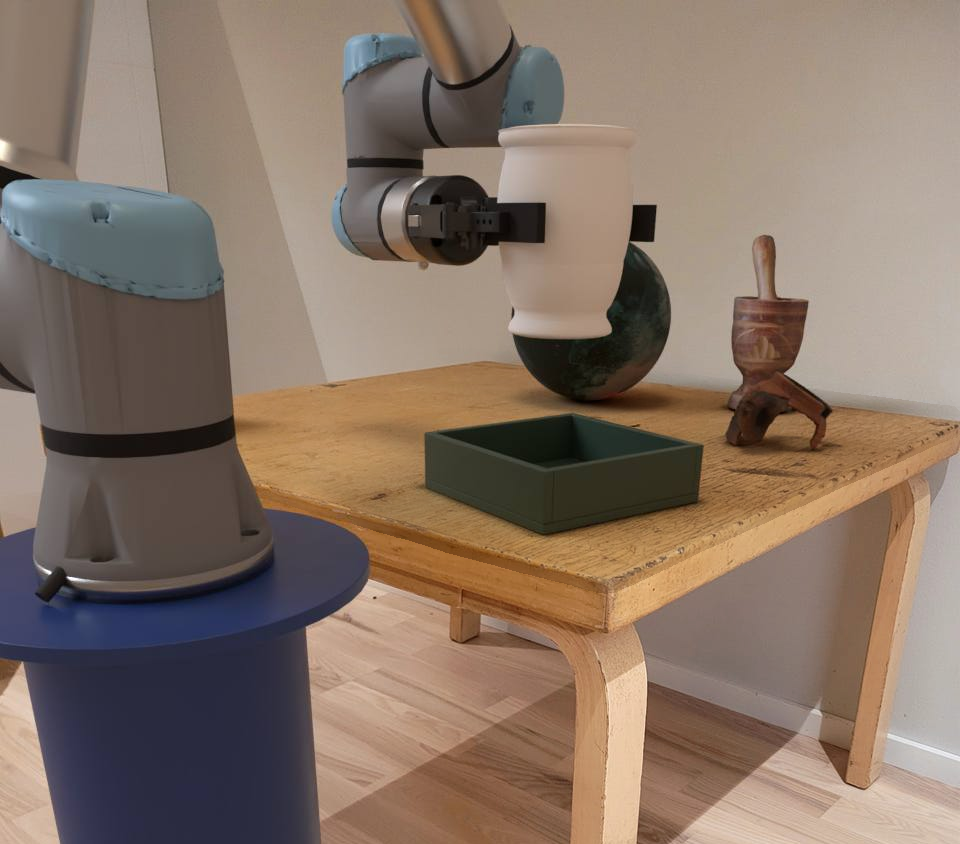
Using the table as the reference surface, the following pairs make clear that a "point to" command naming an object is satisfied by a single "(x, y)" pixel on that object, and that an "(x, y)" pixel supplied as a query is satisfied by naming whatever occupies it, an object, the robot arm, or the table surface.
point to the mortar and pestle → (765, 326)
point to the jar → (567, 226)
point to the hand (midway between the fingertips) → (599, 223)
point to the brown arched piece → (776, 409)
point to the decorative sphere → (608, 339)
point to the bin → (562, 470)
